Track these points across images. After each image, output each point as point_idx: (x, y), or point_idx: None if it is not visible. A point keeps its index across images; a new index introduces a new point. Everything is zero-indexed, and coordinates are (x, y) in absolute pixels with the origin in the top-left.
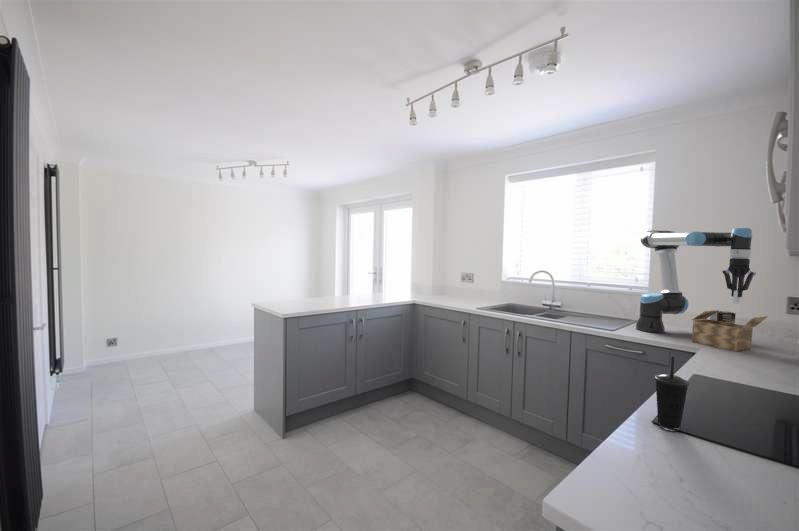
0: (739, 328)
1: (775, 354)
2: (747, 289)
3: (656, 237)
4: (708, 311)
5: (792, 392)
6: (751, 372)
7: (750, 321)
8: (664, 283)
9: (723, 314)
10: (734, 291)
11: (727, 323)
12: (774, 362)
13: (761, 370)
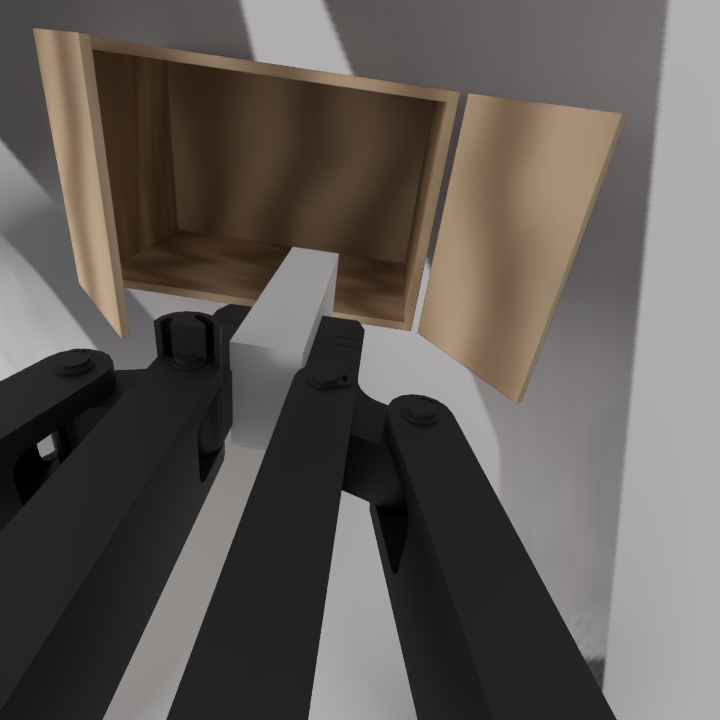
0: (411, 327)
1: (572, 103)
2: (449, 419)
3: None
4: (120, 278)
5: (606, 648)
6: None
7: (487, 378)
8: None
9: None
10: (247, 437)
11: (252, 72)
12: (569, 351)
13: (535, 520)
